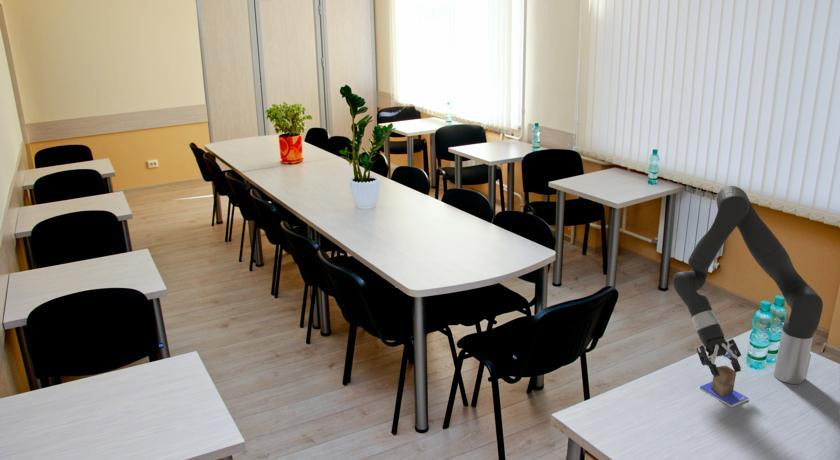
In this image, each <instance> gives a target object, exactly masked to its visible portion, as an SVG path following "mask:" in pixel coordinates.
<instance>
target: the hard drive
mask: <svg viewBox="0 0 840 460" xmlns="http://www.w3.org/2000/svg"><path fill="white" fill-rule="evenodd" d="M711 387H712V381H710V382H708V383H705V384H704V385H700V387H699V390H701V391H704V392H705V393H706V394H708V395H710V396H712V397H714V398H715V399H717V400H719V401H720V402H722V403H725V404H726V405H727V406H729V407H731V408H734V407H735V406H737V405H740V404H742V403H745V402H746V401H749V397H748V396H745V395H744V394H742V393H741V392H739V391H737V390H735V389H733V394H728V395H724V396H720V395H719V394H718V393H716V392H715V391H714V390H712V389H711Z"/></svg>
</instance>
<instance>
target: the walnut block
mask: <svg viewBox="0 0 840 460" xmlns="http://www.w3.org/2000/svg"><path fill="white" fill-rule="evenodd" d="M717 369H718V371H719V374H720V375H719V376H717V377H714V375H712V376H713V377H712V381H711V382H712V387H711V389H712V390H714V391H715V392H716V393H718V394H719V395H720V396H724V395H728V394H733V390H734V389H735V382H736V376H737V372H735V371H734V369H732V368H731V367H729V366H728V365H726V364H725V365H721V366H717Z"/></svg>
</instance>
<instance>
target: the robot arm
mask: <svg viewBox="0 0 840 460" xmlns="http://www.w3.org/2000/svg"><path fill="white" fill-rule="evenodd" d="M716 206H717V212H716V215H715V218H714V221H713V223H712V225H711V227H710V228H709V229H708V231H707V232H706V233H705V234H704V235H703V236H702V237H701V239H699V241H698V242H697V244H696V245H695V246H694V249H693V250H692V252H691V254H690V255H689V258H688V260H687V261H688V262H687V264H688V266H689V268H690V270H687V271H686V270H685V271H679V272H677V273H675V274H674V275H673V278H672V284H673V288H674V290H675V292H676V293H677V295H678V296H679V297H680V299H681V300H682V301H683V303H684V304H685V305H686V307H687V309H688V312H689V314H690V317H691V319H692V323H693V325H694V328H695V330H696V332H697V335H698V338H699V340H700V342H701V343H702V344H703V345H700V346H697V347H696V352H697V355H698V357H699V360H700V362H701V363H700V364H702V366H707V367H708V368H709V371H710V373H711V374H712V376H713V375H714V377H717V376H719V375H720V374H719V371H718V369H717V367H718V366H717V364H716V359H717V357H724V358H727V359H728V360H729V361H730V364H731V366H732V368H733V369H732V370H734V371H735V372H736V373H739V372H741V371H742V369H741V368H742V367H741V365H740V362H739V360H738V358H739V357H742V354H741V351H740V349H739V348H738V346H737V342H736V341H735V339H733V338H730V339H729V340H726V339H725V334H724V332H723V329H722V327H721V324H720V322H719V320H718V317H717V315H716V314H715V312H714V310H713V308H712V305H711V303H710V302H709V298H707V296H706V295H703V294H700V293H698V291H700V290H701V289H702V288H703V286H704V285H705V284H706V280H707V277H708V273H709V269H710V267H711V265H712V263H713V262H714V260H715V258H716V257H717V255H718V253H719V251H721V248H722V247H723V245H724V244H725V242H726V240H727V239H729V237H730V235H731V234H732V233H733V231H734V230H735V229H736V228H737V229H738V230H739V233H740V235H741V237H742V240H743V241H744V244H745V246H746V247H747V250H748V251H749V253H750V254H751V257H753V259H754V261H756V263H757V264H758V266H760V268H761V269H762V270H763V271H764V272H765V273H766V274H767V276H769V277H770V278H771V279H772V280H773V281H774V282H775V284H776V285H777V287H778V289H779V291H780V292H781V294H782V296H783V299H784V300H785V302H786V304H787V305H788V307H789V308H790V309H791V310H790V314H789V319H787V320H784V322H783V325H782V331H781V335H780V340H779V346H778V351H777V356H776V360H775V365H774V371H773V376H774V377H775V378H776V379H778V380H779V381H781V382H784V383H787V384H791V385H800V384H802V383H804V382H805V381H804V380H806V379H807V376H808V371H809V367H810V361H811V356H812V354H811V348H812V344H813V340H814V336H815V335H814V334H815V333H816V332H817V329H818V327H819V323H820V321H821V317H822V314H823V307H824V301H823V299H822V297H821V296H820V295H819V294H818V293H817V292H816V290H814V288H812V286H810V285H809V284H808V283H807V282H806V280H804V279H803V277H802V276H801V275H800V274H799V273H798V271H797V270H796V269H795V267H794V265H793V262H792V259H791V258H790V255H789V253H788V252H787V250H786V249H785V247H784V246H783V244H782V243H781V242H780V240H779V239H778V237H777V236H776V235H775V234H774V233H773V231H772V230H771V229H770V227H769V226H768V225H767V224H766V222H764V221H763V220H762V218H761V217H760V216H759V214H758V213H757V212H756V210H755V208H754V206H753V205H752V203H751V201H750V199H749V197H748V195H747V193H746V192H745V191H744V190H743V189H742V188H740V187H739V186H735V185H728V186H724V187H723V188H721V189H720V190H719V192H718V194H717V197H716Z"/></svg>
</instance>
